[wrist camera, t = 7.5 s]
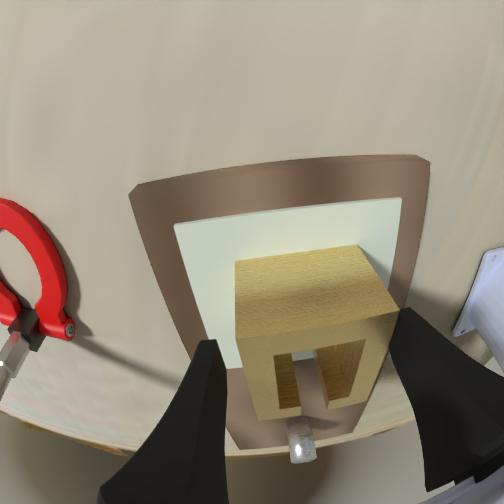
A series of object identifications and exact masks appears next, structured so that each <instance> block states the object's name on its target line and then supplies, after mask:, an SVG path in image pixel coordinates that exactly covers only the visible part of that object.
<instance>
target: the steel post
mask: <svg viewBox="0 0 504 504" xmlns="http://www.w3.org/2000/svg"><path fill="white" fill-rule="evenodd" d="M286 427H287V435H288V442H289V450H290V457H291V462H292V463H303V462H308V461H312V460H314V459H316V458H317V456H316V450H315V445H314V439H313V434H312V428H311V423H310V418H309V417H308V416H295V417H292V418H289V419H288V420H287V421H286Z"/></svg>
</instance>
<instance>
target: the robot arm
mask: <svg viewBox="0 0 504 504" xmlns="http://www.w3.org/2000/svg"><path fill="white" fill-rule="evenodd" d="M474 329H476V330H477V331H478V333H479V334H480V335H481V337H482V338H483V340H484V341H485V343H486V344H487V346H488V348H489V349H490V351H491V352H492V354H493V355H494V357H495V358H496V360H497V362H498V363H499V365H500V367H501V368H502V370H503V372H504V247H501V248H497V249H493V250H489V251H487V252H486V253H485V254H484V256H483V258H482V261H481V264H480V267H479V270H478V273H477V276H476V278H475V281H474V284H473V286H472V289H471V291H470V294H469V296H468V299H467V301H466V304H465V306H464V308H463V310H462V313H461V315H460V317H459V319H458V321H457V324H456V326H455V328H454V330H453V332H452V334H453V336H454V337H457V336H460V335H462V334H465V333H467V332H470V331H472V330H474ZM388 347H389V351H390V354H391V357H392V360H393V363H394V366H395V368H396V370H397V372H398V375H399V377H400V379H401V382H402V384H403V386H404V388H405V391H406V393H407V395H408V398H409V400H410V402H411V405H412V408H413V411H414V414H415V418H416V421H417V426H418V429H419V434H420V439H421V445H422V451H423V458H424V471H425V487H426V491H427V492H430V491H432V490H434V489H436V488H439V487H441V486H443V485H446V484H448V483H450V482H451V481H453V480H454V482H455V486H453V487H451V488H449V489H448V490H446V491H444V492H442V493H440V494H438V495H436V496H434V497H432V498H430V499H428V500H426V501H424V502H421V503H419V504H504V377H502V376H500V375H498V374H497V373H495V372H493V371H491V370H489V369H488V368H486V367H484V366H483V365H481V364H480V363H478V362H477V361H475V360H474V359H472V358H471V357H469V356H468V355H467V354H465V353H464V352H463V351H462V350H460V349H459V348H458V347H456V346H455V345H454V344H453V343H451V342H450V341H449V340H448V339H446V338H445V337H444V336H443V335H442V334H441V333H439V332H438V331H437V330H436V329H435V328H434V327H432V326H431V325H430V324H429V323H428V322H427V321H425V320H424V319H423V318H422V317H421V316H420V315H418V314H417V313H416V312H415V311H414V310H412V309H411V308H410V307H408V308H404V309H400V311H399V315H398V318H397V321H396V324H395V328H394V331H393V334H392V337H391V340H390V343H389V345H388ZM227 395H228V389H227V369H226V366H225V363H224V360H223V357H222V354H221V351H220V348H219V345H218V342H217V339H210V340H200V341H199V343H198V345H197V348H196V351H195V353H194V356H193V358H192V361H191V363H190V365H189V367H188V370H187V372H186V374H185V376H184V378H183V380H182V382H181V384H180V386H179V388H178V390H177V392H176V394H175V396H174V398H173V400H172V401H171V403H170V405H169V407H168V408H167V410H166V412H165V413H164V415H163V417H162V418H161V420H160V421H159V423H158V424H157V426H156V427H155V429H154V430H153V431H152V433H151V434H150V435H149V437H148V438H147V439H146V441H145V442H144V443H143V445H142V446H141V447H140V448H139V449H138V451H137V452H136V453H135V454H134V455H133V456H132V457H131V458H130V459H129V461H127V463H126V464H125V465H124V466H123V467H122V468H121V469H120V470H119V471H118V472H117V473H115V474H114V475H113V476H112V477H111V478H110V479H109V480H108V481H106V482H105V483H104V484H103V485H102V486H101V487H100V489H99V493H98V498H97V504H229V500H228V491H227V480H226V468H225V450H224V446H225V425H226V410H227Z"/></svg>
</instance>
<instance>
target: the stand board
mask: <svg viewBox="0 0 504 504" xmlns="http://www.w3.org/2000/svg"><path fill="white" fill-rule="evenodd" d="M429 172H430V162H429V161H427V160H425V159H423V158H421V157H419V156H417V155H360V156H338V157H322V158H309V159H297V160H287V161H277V162H268V163H259V164H251V165H244V166H237V167H230V168H223V169H217V170H210V171H204V172H198V173H193V174H187V175H182V176H176V177H171V178H166V179H161V180H156V181H152V182H147V183H143V184H138V185H137V186H136V187H135V188H134V189H133V190H132V191H131V192H130V193H129V194H128V196H129V199H130V202H131V206H132V209H133V212H134V216H135V219H136V222H137V225H138V228H139V231H140V234H141V237H142V240H143V243H144V246H145V249H146V252H147V255H148V258H149V261H150V263H151V266H152V269H153V272H154V274H155V277H156V279H157V282H158V285H159V287H160V290H161V292H162V295H163V297H164V300H165V302H166V305H167V307H168V310H169V312H170V315H171V317H172V319H173V322H174V324H175V326H176V329H177V331H178V333H179V335H180V338H181V340H182V342H183V344H184V346H185V349H186V351H187V353H188V355H189V357H190V359H191V361H192V358H193V356H194V353H195V351H196V348H197V345H198V343H199V341H200V340H209V338H208V335H207V333H206V330H205V327H204V324H203V321H202V318H201V315H200V312H199V309H198V306H197V303H196V300H195V297H194V294H193V291H192V288H191V284H190V281H189V278H188V275H187V271H186V268H185V265H184V261H183V258H182V255H181V251H180V248H179V244H178V241H177V237H176V234H175V230H174V224H177V223H183V222H190V221H196V220H203V219H209V218H216V217H223V216H230V215H237V214H245V213H252V212H260V211H268V210H276V209H284V208H292V207H301V206H310V205H319V204H329V203H338V202H349V201H360V200H371V199H383V198H396V197H400V198H401V199H402V205H401V214H400V222H399V229H398V236H397V243H396V249H395V255H394V261H393V266H392V271H391V276H390V281H389V286H388V292H389V294H390V295H391V297H392V298H393V300H394V302H395V303H396V305H397V306H398V308H399V310H400V309H403V308H404V304H405V301H406V297H407V294H408V290H409V286H410V282H411V278H412V274H413V270H414V266H415V262H416V257H417V253H418V248H419V243H420V238H421V232H422V226H423V220H424V214H425V207H426V200H427V192H428V183H429ZM388 352H389V347H388V348H387V351H386V354H385V357H384V359H383V362H382V365H381V367H380V370H379V372H378V375H377V377H376V380H375V382H374V384H373V387H372V389H371V391H370V394H369V396H368V398H367V401H365V402H361V403H357V404H353V405H349V406H345V407H340V408H336V409H331V410H327V409H326V404H325V400H324V396H323V392H322V388H321V384H320V379H319V375H318V371H317V367H316V363H315V359H314V358H309V359H303V360H297V361H293V365H294V370H295V376H296V381H297V387H298V392H299V398H300V403H301V415H299V416H308V417H309V418H310V423H311V428H312V434H313V439H314V441H316V440H322V439H326V438H331V437H336V436H340V435H344V434H348V433H352V432H353V430H354V428H355V426H356V424H357V422H358V420H359V419H360V417H361V415H362V412H363V410H364V408H365V406H366V404H367V402H368V400H369V398H370V396H371V393H372V391H373V389H374V387H375V384H376V382H377V380H378V377H379V375H380V373H381V370H382V368H383V365H384V363H385V360H386V357H387V355H388ZM227 389H228V395H227V410H226V425H225V426H226V428H227V430H228V432H229V433H230V435H231V437H232V438H233V440H234V442H235V443H236V445H237V447H238V448H239V450H245V449H258V448H269V447H278V446H285V445H289V442H288V435H287V427H286V421H287V420H288V419H289V418H292V417H286V418H279V419H271V420H262V421H258V419H257V415H256V412H255V408H254V405H253V401H252V398H251V395H250V391H249V387H248V384H247V380H246V377H245V373H244V370H243V367H242V368H231V369H227ZM293 417H295V416H293Z"/></svg>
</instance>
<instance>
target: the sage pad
mask: <svg viewBox="0 0 504 504" xmlns="http://www.w3.org/2000/svg"><path fill="white" fill-rule="evenodd" d="M401 205H402V199H401V198H400V197H396V198H383V199H371V200H360V201H349V202H338V203H329V204H319V205H310V206H301V207H292V208H284V209H276V210H268V211H260V212H252V213H245V214H237V215H230V216H223V217H216V218H209V219H203V220H196V221H190V222H183V223H177V224H174V230H175V234H176V237H177V241H178V244H179V248H180V251H181V255H182V258H183V261H184V265H185V268H186V271H187V275H188V278H189V281H190V284H191V288H192V291H193V294H194V297H195V300H196V303H197V306H198V309H199V312H200V315H201V318H202V321H203V324H204V327H205V330H206V333H207V335H208V338H209V340H210V339H217V342H218V345H219V348H220V351H221V354H222V357H223V360H224V363H225V366H226V369H231V368H242V367H243V366H242V362H241V358H240V355H239V351H238V347H237V343H236V340H235V261H237V260H244V259H252V258H259V257H267V256H274V255H282V254H289V253H296V252H304V251H311V250H318V249H326V248H333V247H340V246H347V245H354V244H357V245H358V247H359V248H360V250H361V251H362V253H363V254H364V255H365V257H366V258H367V260H368V261H369V263H370V264H371V266H372V267H373V269H374V270H375V272H376V273H377V275H378V276H379V278H380V279H381V281H382V283H383V284H384V286H385V287H386V289H387V290H388V286H389V281H390V276H391V271H392V266H393V261H394V255H395V249H396V243H397V236H398V229H399V222H400V214H401ZM291 354H292V360H293V361H297V360H303V359H309V358H314V355H313V352H312V350H306V351H300V352H293V353H291Z"/></svg>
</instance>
